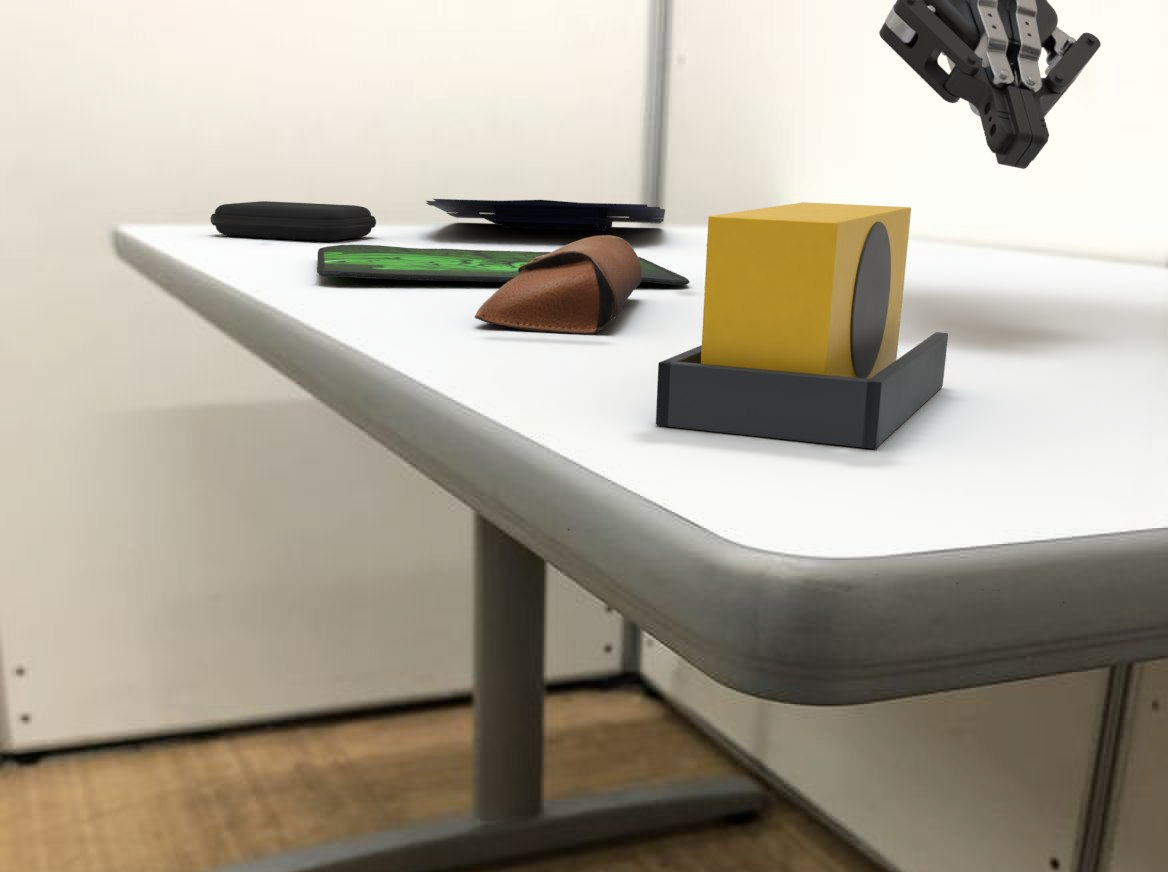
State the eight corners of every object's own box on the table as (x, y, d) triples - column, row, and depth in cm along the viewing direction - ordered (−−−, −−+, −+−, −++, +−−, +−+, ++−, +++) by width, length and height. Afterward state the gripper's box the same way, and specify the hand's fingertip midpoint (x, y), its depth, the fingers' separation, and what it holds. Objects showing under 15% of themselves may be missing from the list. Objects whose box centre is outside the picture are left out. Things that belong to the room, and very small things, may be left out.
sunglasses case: (517, 285, 97) (568, 200, 94) (603, 341, 97) (656, 258, 95) (469, 319, 80) (530, 217, 77) (573, 388, 80) (637, 287, 78)
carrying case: (389, 236, 141) (263, 229, 146) (388, 205, 140) (261, 199, 145) (335, 243, 132) (202, 236, 137) (334, 210, 131) (200, 203, 136)
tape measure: (787, 376, 67) (800, 202, 65) (896, 386, 65) (913, 207, 63) (694, 424, 56) (705, 215, 53) (822, 438, 54) (840, 222, 51)
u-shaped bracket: (761, 370, 69) (765, 318, 68) (942, 386, 65) (948, 332, 65) (655, 425, 55) (657, 362, 55) (875, 449, 52) (881, 382, 51)
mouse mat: (635, 258, 123) (635, 246, 122) (698, 287, 102) (699, 272, 102) (317, 255, 118) (316, 243, 118) (317, 285, 98) (316, 270, 97)
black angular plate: (412, 227, 135) (412, 188, 134) (453, 242, 164) (454, 209, 164) (665, 234, 134) (667, 195, 133) (662, 247, 163) (663, 215, 163)
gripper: (1028, 12, 86) (1090, 225, 78) (830, -34, 83) (873, 185, 75) (1100, -97, 80) (1176, 124, 72) (890, -150, 76) (944, 74, 68)
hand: (1021, 154), depth 73 cm, fingers closed
